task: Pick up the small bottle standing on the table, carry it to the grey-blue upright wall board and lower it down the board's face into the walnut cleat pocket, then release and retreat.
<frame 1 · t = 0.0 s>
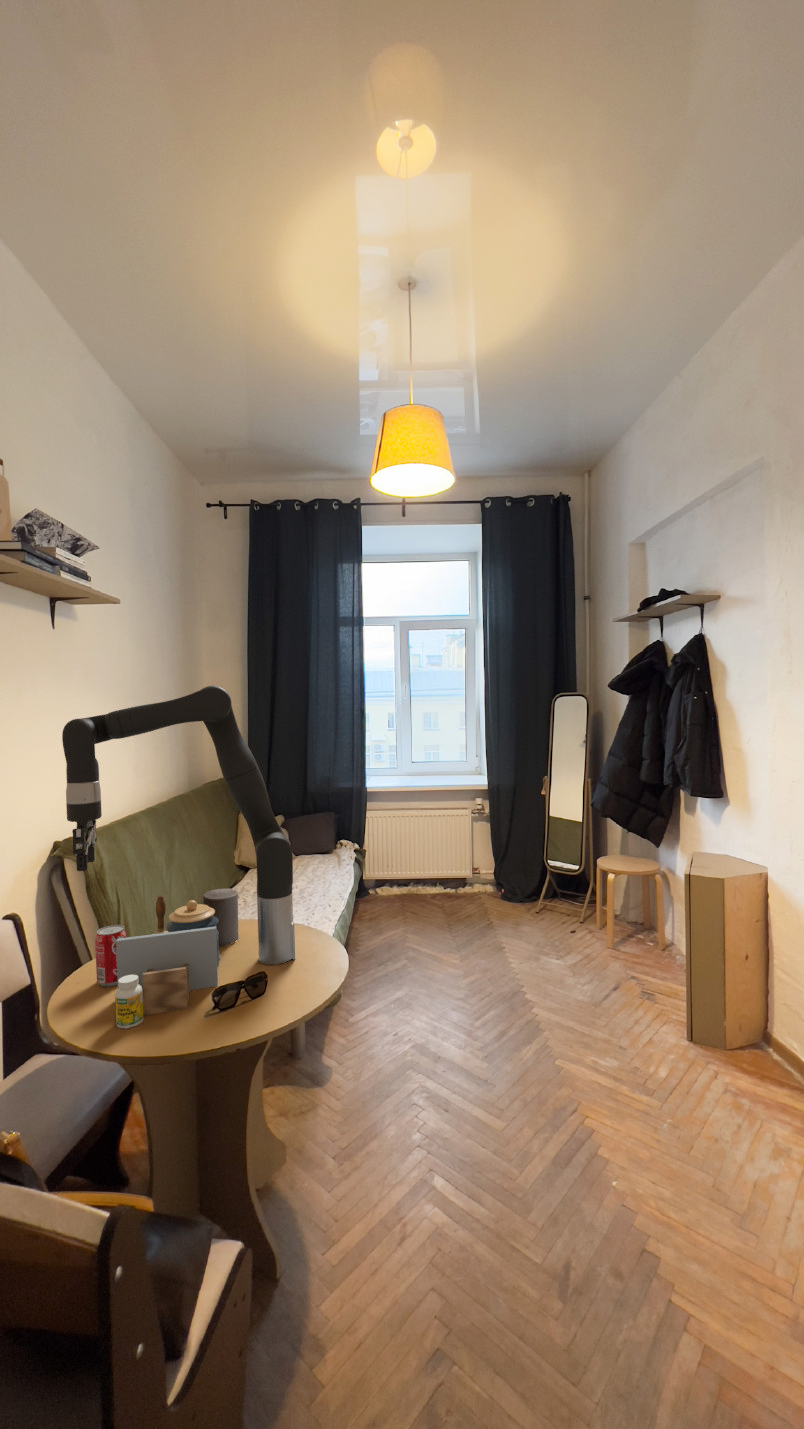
hand: (86, 866, 148), 29 cm above the table, tool pointing down, fingers open, 8 cm apart
wall board: (169, 992, 143), on the table
hand bell: (161, 954, 166), on the table
cleat pocket: (167, 1001, 139), on the table
pillar candle: (222, 941, 174), on the table
canister: (193, 969, 156), on the table
soda can: (112, 982, 150), on the table
supplement bottle: (130, 1023, 130), on the table
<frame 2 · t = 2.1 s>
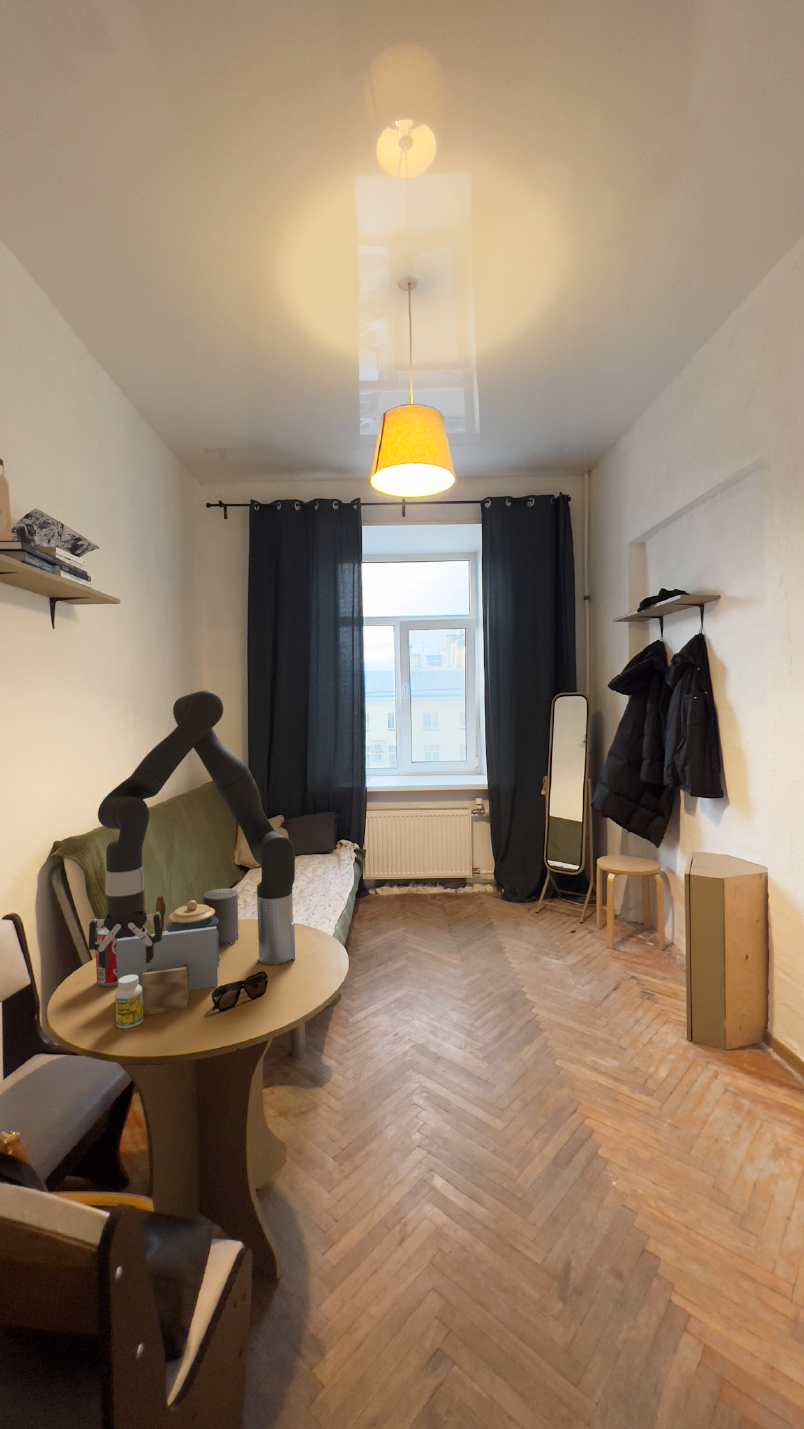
hand: (126, 964, 129), 13 cm above the table, tool pointing down, fingers open, 8 cm apart
nothing on the table moved.
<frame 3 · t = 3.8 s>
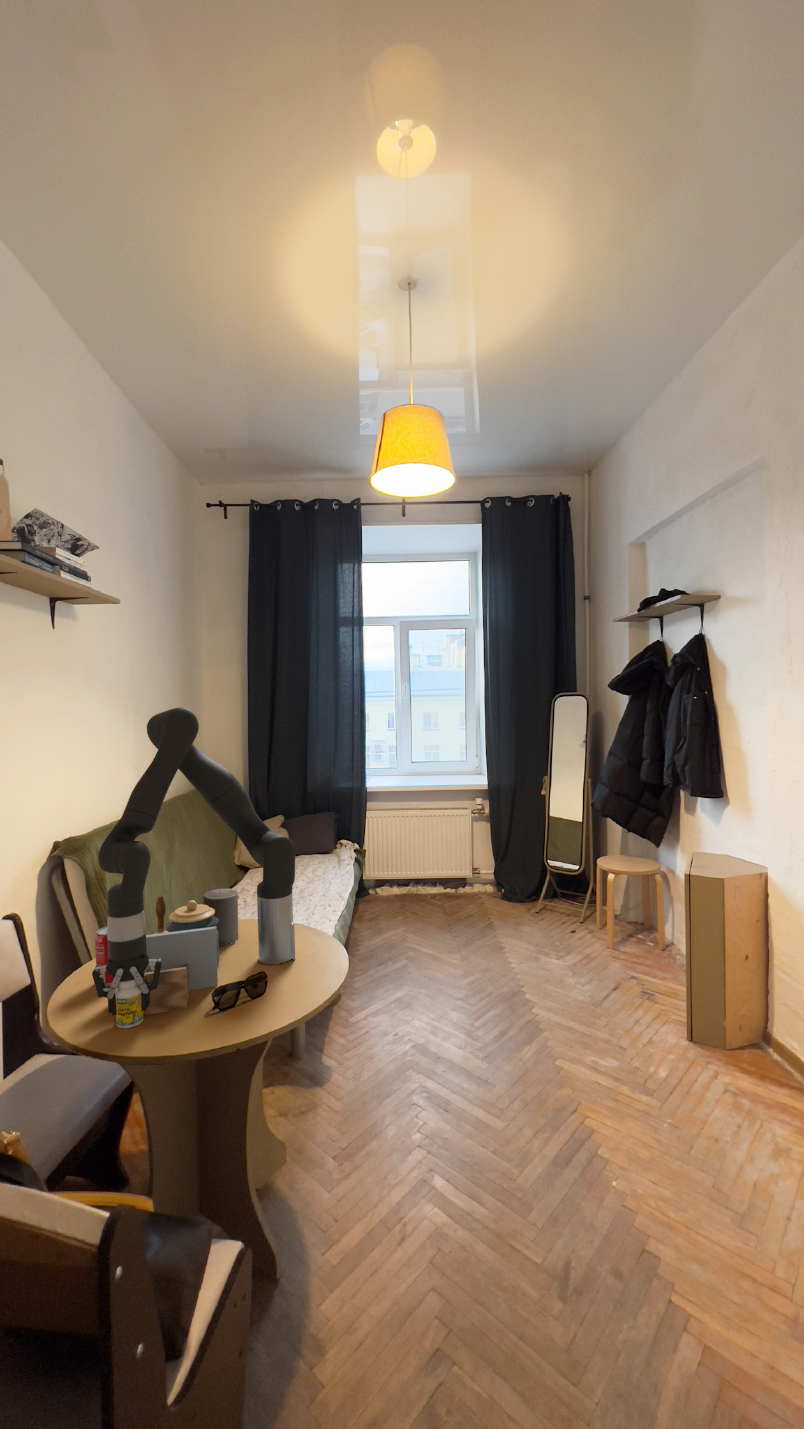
hand: (129, 1011, 130), 2 cm above the table, tool pointing down, fingers closed on supplement bottle, 5 cm apart
supplement bottle: (130, 1023, 130), on the table, touching gripper
everything else where it was.
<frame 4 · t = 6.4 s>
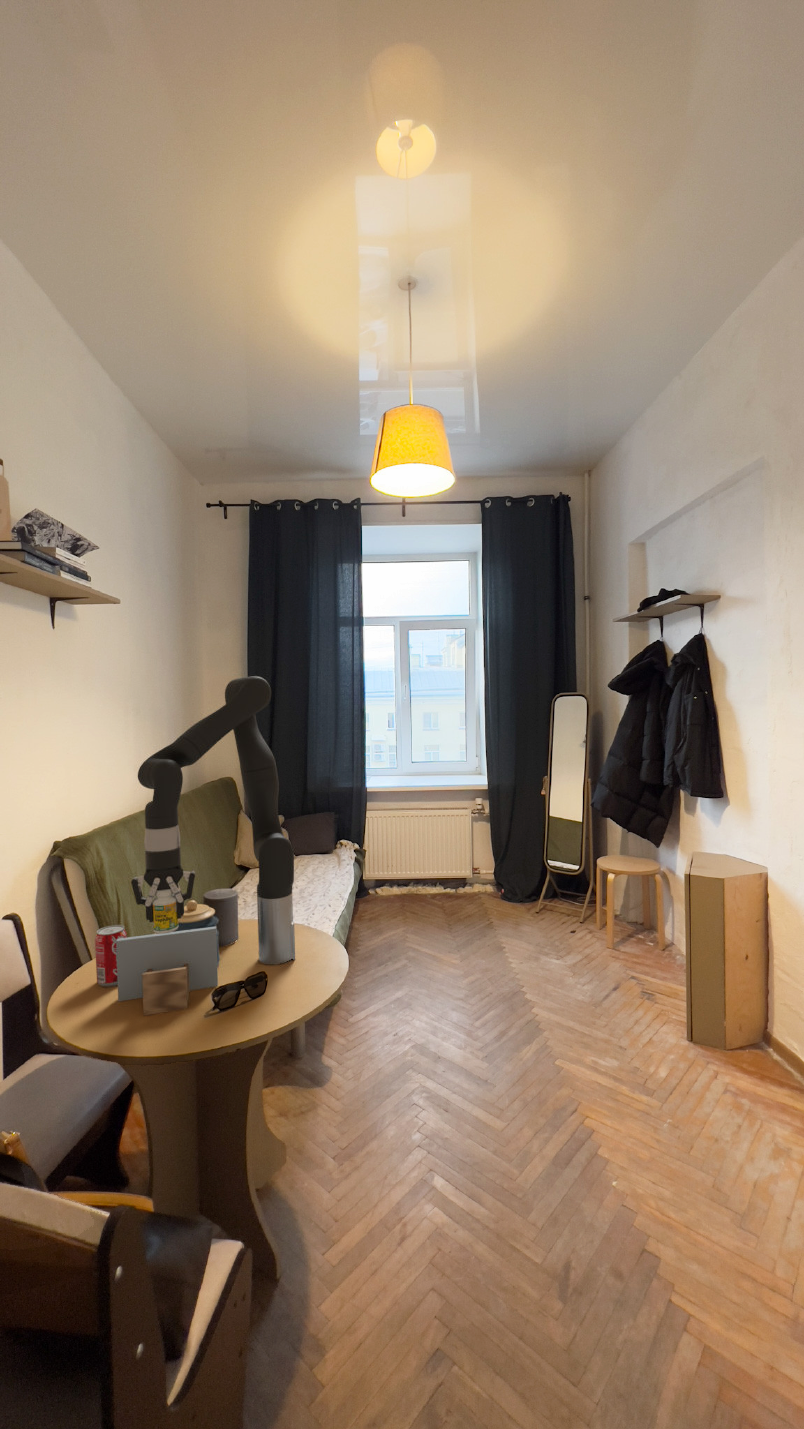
hand: (165, 919, 138), 19 cm above the table, tool pointing down, fingers closed on supplement bottle, 5 cm apart
supplement bottle: (166, 930, 138), point 16 cm above the table, touching gripper
everything else where it was.
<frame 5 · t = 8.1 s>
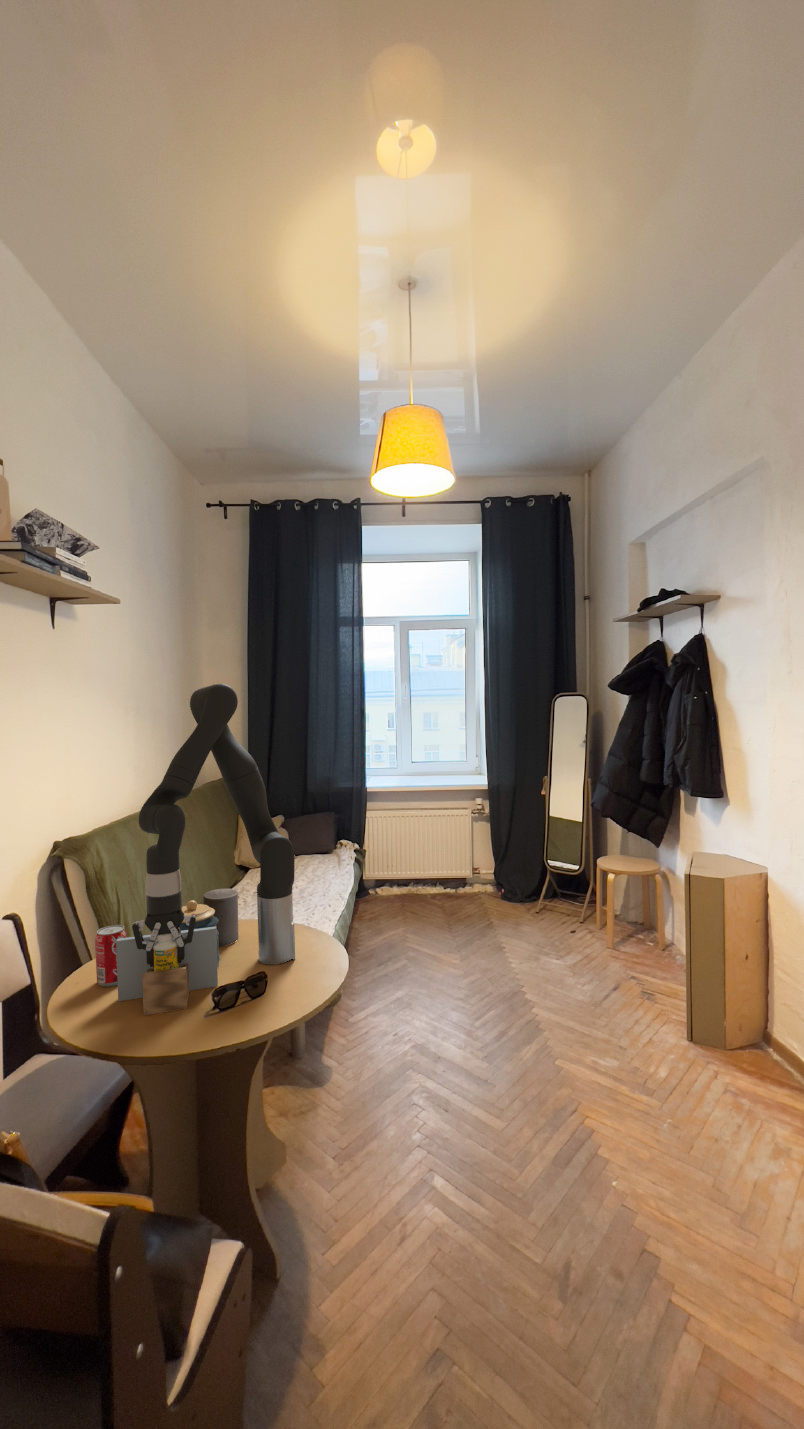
hand: (165, 963, 139), 9 cm above the table, tool pointing down, fingers closed on supplement bottle, 5 cm apart
supplement bottle: (166, 974, 139), point 6 cm above the table, touching gripper
everything else where it was.
when the fingers open (7 cm above the table, at t = 9.3 s): supplement bottle stays where it is, resting on cleat pocket.
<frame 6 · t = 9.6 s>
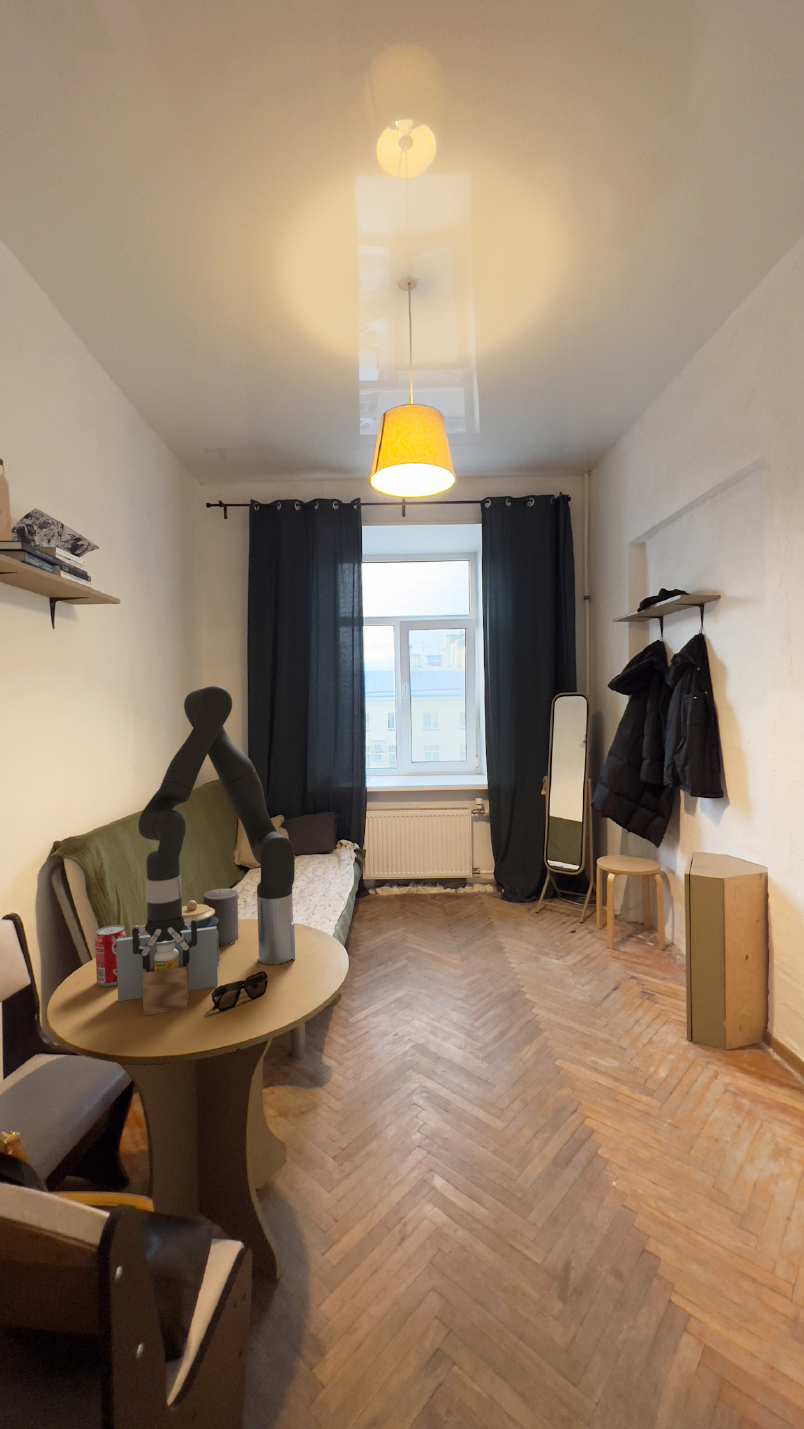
hand: (166, 967, 138), 8 cm above the table, tool pointing down, fingers open, 7 cm apart
supplement bottle: (167, 984, 139), point 4 cm above the table, touching cleat pocket
everything else where it was.
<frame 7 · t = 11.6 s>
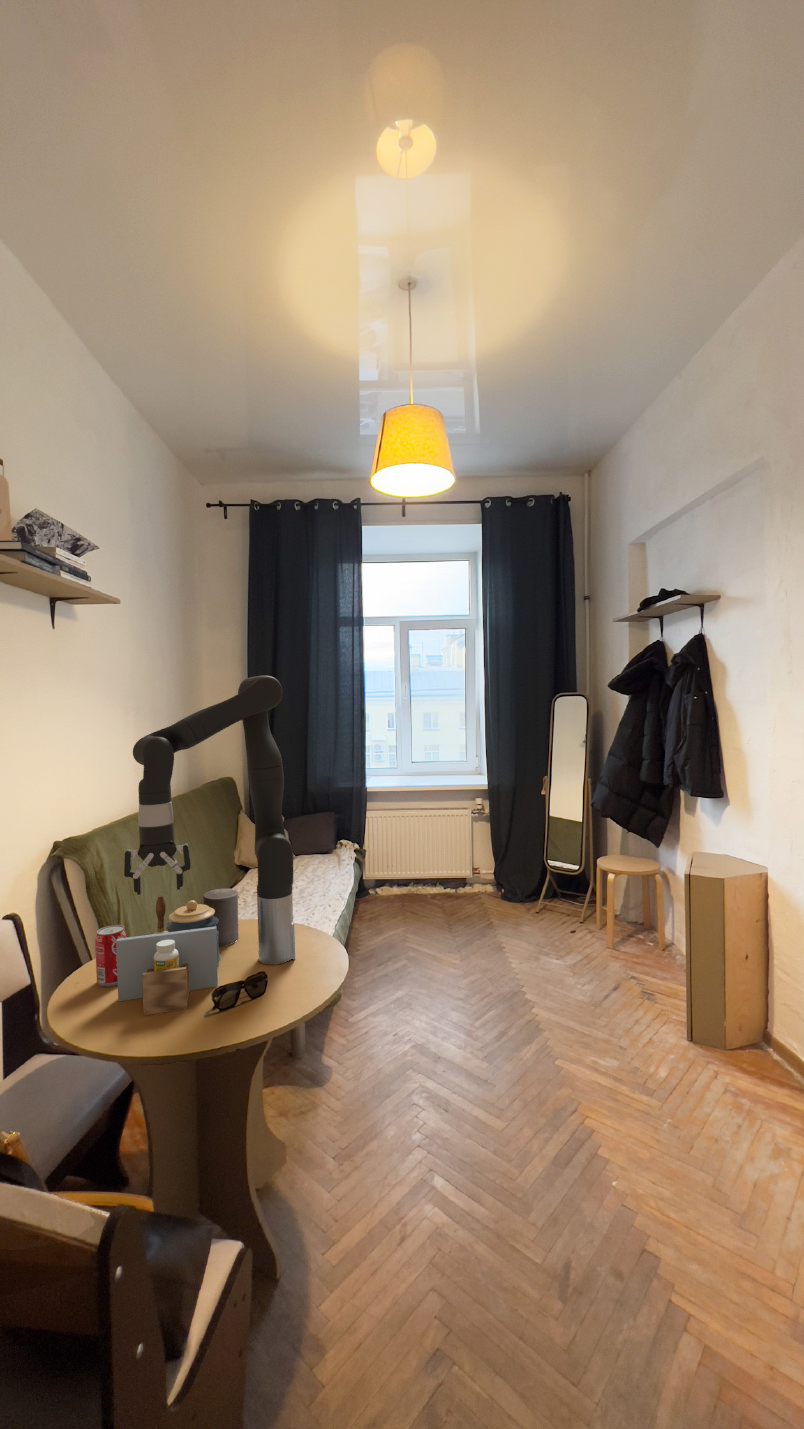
hand: (159, 891, 141), 25 cm above the table, tool pointing down, fingers open, 8 cm apart
nothing on the table moved.
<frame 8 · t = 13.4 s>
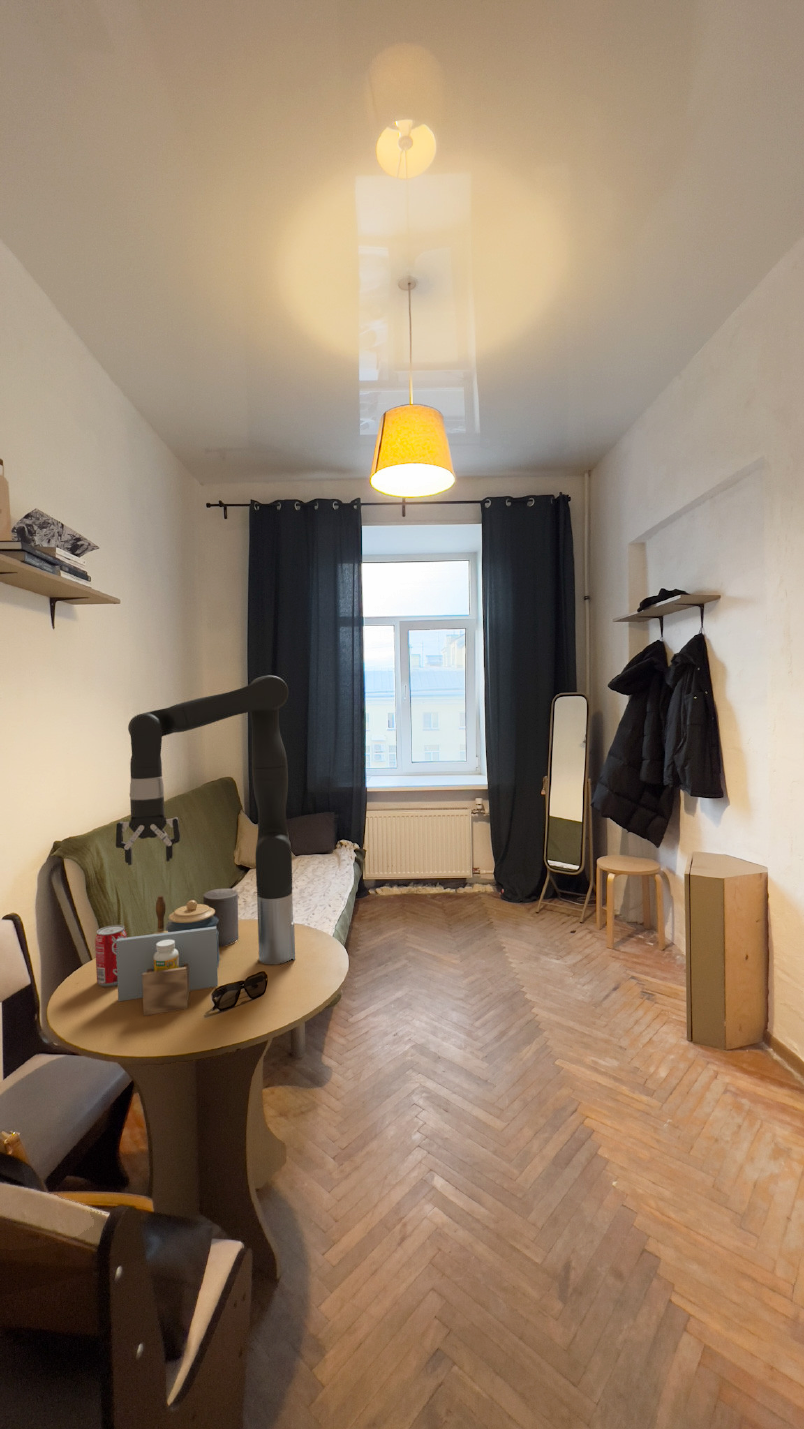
hand: (149, 862, 146), 30 cm above the table, tool pointing down, fingers open, 8 cm apart
nothing on the table moved.
at the end: supplement bottle 0.1 cm off-centre on the cleat pocket, point 3.8 cm above the cleat pocket's base; supplement bottle tilted 0°; the gripper is holding nothing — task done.
